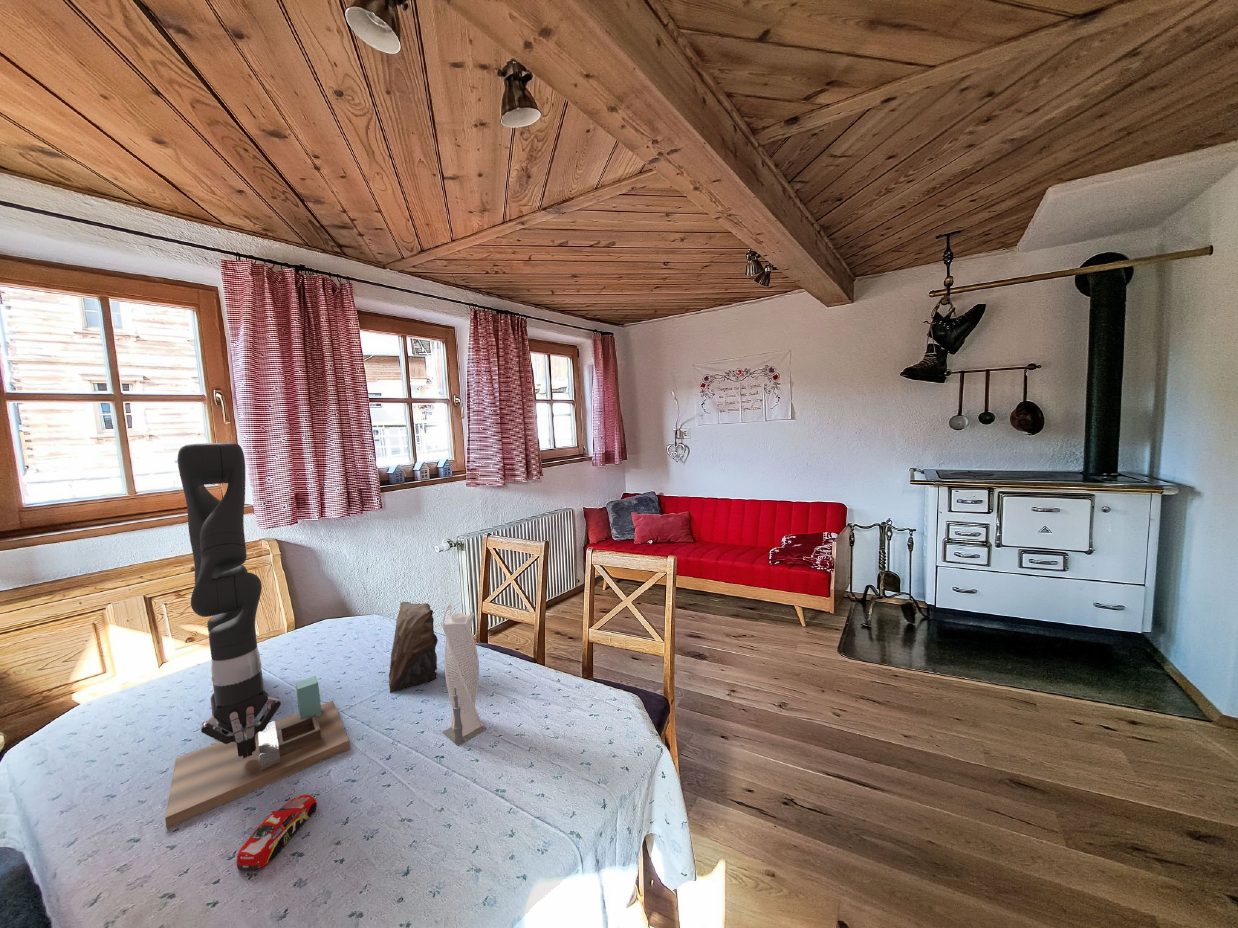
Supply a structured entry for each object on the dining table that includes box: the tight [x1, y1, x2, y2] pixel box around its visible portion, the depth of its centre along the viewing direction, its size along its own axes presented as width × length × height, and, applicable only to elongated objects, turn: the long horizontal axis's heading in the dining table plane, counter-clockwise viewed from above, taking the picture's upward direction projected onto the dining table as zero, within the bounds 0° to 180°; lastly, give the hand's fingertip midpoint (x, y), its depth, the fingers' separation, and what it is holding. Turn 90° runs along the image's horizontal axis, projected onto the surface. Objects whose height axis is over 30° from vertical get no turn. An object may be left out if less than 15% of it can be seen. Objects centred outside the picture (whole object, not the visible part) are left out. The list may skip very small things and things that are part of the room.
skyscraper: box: [441, 604, 488, 747], centre depth 101 cm, size 8×8×28 cm
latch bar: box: [258, 720, 281, 770], centre depth 95 cm, size 12×3×3 cm, turn 40°
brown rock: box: [388, 601, 439, 694], centre depth 124 cm, size 13×13×20 cm
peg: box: [295, 675, 322, 720], centre depth 107 cm, size 4×4×8 cm
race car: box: [236, 794, 318, 871], centre depth 77 cm, size 13×5×4 cm, turn 175°
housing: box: [164, 700, 350, 829], centre depth 96 cm, size 20×28×4 cm
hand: (247, 754), depth 93 cm, fingers closed
